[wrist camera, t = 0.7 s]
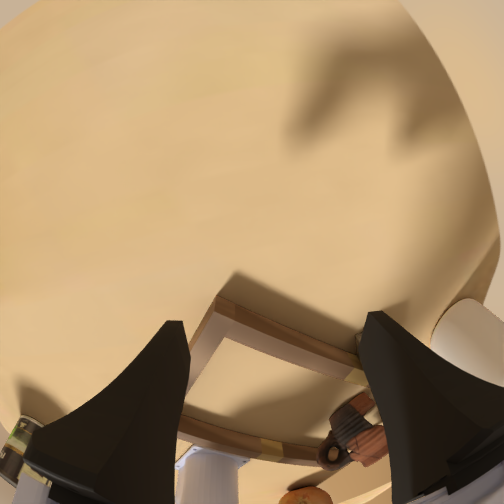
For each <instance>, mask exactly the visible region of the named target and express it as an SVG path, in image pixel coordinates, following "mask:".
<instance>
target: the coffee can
mask: <svg viewBox="0 0 504 504" xmlns="http://www.w3.org/2000/svg"><path fill="white" fill-rule="evenodd" d="M42 427H44V425H43V424H41V423H40V422H38V421H36V420H35V419H33V418H31V417H29V416H26V415H21V416H20V419H19V420H18V422H17V424H16V426H15V427H14V429H13V431H12V433H11V434H10V436H9V438H8V440H7V442H6V443H5V445H4V447H3V449H2V451H1V453H0V476H1V477H2V478H3V479H4V480H6V481H7V482H8V483H9V484H11V485H12V486H14V487H15V488H17V485H18V482H19V479H20V476H21V473H22V472H24V473H26V474H27V475H29V476H31V477H33V478H34V479H36V480H38V481H40V482H42V483H44V484H45V485H47V486H49V487H50V485H51V481H50V480H48V479H46V478H45V477H43V476H42V475H40V474H39V473H38V472H36V471H35V470H33V469H32V468H31V467H29V466H28V465H27V464H26V463H24V461H23V459H22V458H23V455H24V452H25V450H26V447H27V445H28V442H29V440H30V438H31V435H32V433H33V431H35V430H37V429H39V428H42Z"/></svg>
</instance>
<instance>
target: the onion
mask: <svg viewBox="0 0 504 504" xmlns="http://www.w3.org/2000/svg"><path fill="white" fill-rule="evenodd" d="M279 504H333V502H332V500H331V497H330V495H329V494H328V493H327V492H325V491H324V490H322V489H320V488H317V487H313V486H309V487H305V488H301V489H297V490H294V491H290V492H288V493H287V494H285V495H284V496H283V497H282V498H281V499H280V501H279Z"/></svg>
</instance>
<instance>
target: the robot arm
mask: <svg viewBox="0 0 504 504" xmlns="http://www.w3.org/2000/svg"><path fill="white" fill-rule="evenodd" d="M358 351H359V355H360V360H361V363H362V367H363V370H364V373H365V376H366V378H367V381H368V383H369V386H370V388H371V391H372V393H373V396H374V399H375V401H376V404H377V406H378V409H379V412H380V415H381V418H382V421H383V426H384V430H385V435H386V440H387V446H388V452H389V457H390V467H391V481H392V503H393V504H407V503H408V504H504V387H502V386H498V385H496V384H493V383H490V382H487V381H485V380H483V379H480V378H478V377H476V376H474V375H472V374H470V373H468V372H466V371H464V370H462V369H460V368H458V367H457V366H455V365H453V364H452V363H450V362H448V361H447V360H445V359H444V358H442V357H441V356H439V355H438V354H436V353H435V352H434V351H432V350H431V349H429V348H428V347H427V346H425V345H424V344H423V343H421V342H420V341H419V340H418V339H416V338H415V337H414V336H413V335H411V334H410V333H409V332H408V331H407V330H405V329H404V328H403V327H402V326H400V325H399V324H398V323H397V322H396V321H394V320H393V319H392V318H391V317H389V316H388V315H387V314H385V313H384V312H383V311H373V312H368V315H367V318H366V322H365V326H364V329H363V333H362V336H361V340H360V343H359V346H358ZM190 363H191V355H190V351H189V347H188V343H187V339H186V335H185V330H184V326H183V321H171V320H167V321H166V322H165V323H164V324H163V326H162V327H161V328H160V329H159V331H158V332H157V333H156V334H155V336H154V337H153V338H152V339H151V340H150V342H149V343H148V344H147V345H146V346H145V348H144V349H143V350H142V351H141V352H140V353H139V354H138V356H137V357H136V358H135V359H134V360H133V361H132V362H131V363H130V364H129V365H128V366H127V367H126V369H125V370H124V371H123V372H122V373H121V374H120V375H119V376H118V377H117V378H116V379H115V380H113V381H112V382H111V383H110V384H109V385H108V386H107V387H106V388H104V389H103V390H102V391H101V392H100V393H98V394H97V395H96V396H94V397H93V398H92V399H90V400H89V401H87V402H86V403H85V404H83V405H82V406H80V407H79V408H77V409H76V410H74V411H73V412H71V413H69V414H68V415H66V416H64V417H62V418H60V419H59V420H57V421H55V422H53V423H50V424H48V425H46V426H44V427H42V428H39V429H37V430H35V431H33V433H32V435H31V438H30V440H29V442H28V445H27V447H26V450H25V452H24V455H23V458H22V459H23V461H24V463H26V464H27V465H28V466H29V467H31V468H32V469H33V470H35V471H36V472H38V473H39V474H40V475H42V476H43V477H45V478H46V479H48V480H50V481H51V482H52V485H51V487H49V486H47V485H45V484H44V483H42V482H40V481H38V480H36V479H34V478H33V477H31V476H29V475H27V474H26V473H24V472H22V473H21V476H20V479H19V482H18V485H17V488H16V491H15V495H14V498H13V502H12V504H175V503H176V504H239V499H238V469H239V468H240V467H242V466H243V465H245V464H246V463H247V462H249V461H250V458H249V457H244V456H239V455H235V454H230V453H226V452H222V451H218V450H214V449H211V448H207V447H203V446H200V445H197V444H194V445H193V446H192V447H191V448H190V449H189V450H188V451H187V452H186V453H185V454H184V455H183V456H182V457H181V458H180V459H179V460H178V461H177V462H176V463H175V454H176V442H177V433H178V426H179V422H180V417H181V412H182V408H183V403H184V399H185V395H186V390H187V386H188V381H189V373H190ZM175 469H176V470H179V471H178V478H177V486H176V494H175V495H174V479H175ZM423 496H425V497H423ZM421 497H422V498H421ZM419 498H420V499H419ZM416 499H418V500H416ZM414 500H416V501H414ZM412 501H413V502H412ZM409 502H411V503H409Z"/></svg>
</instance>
